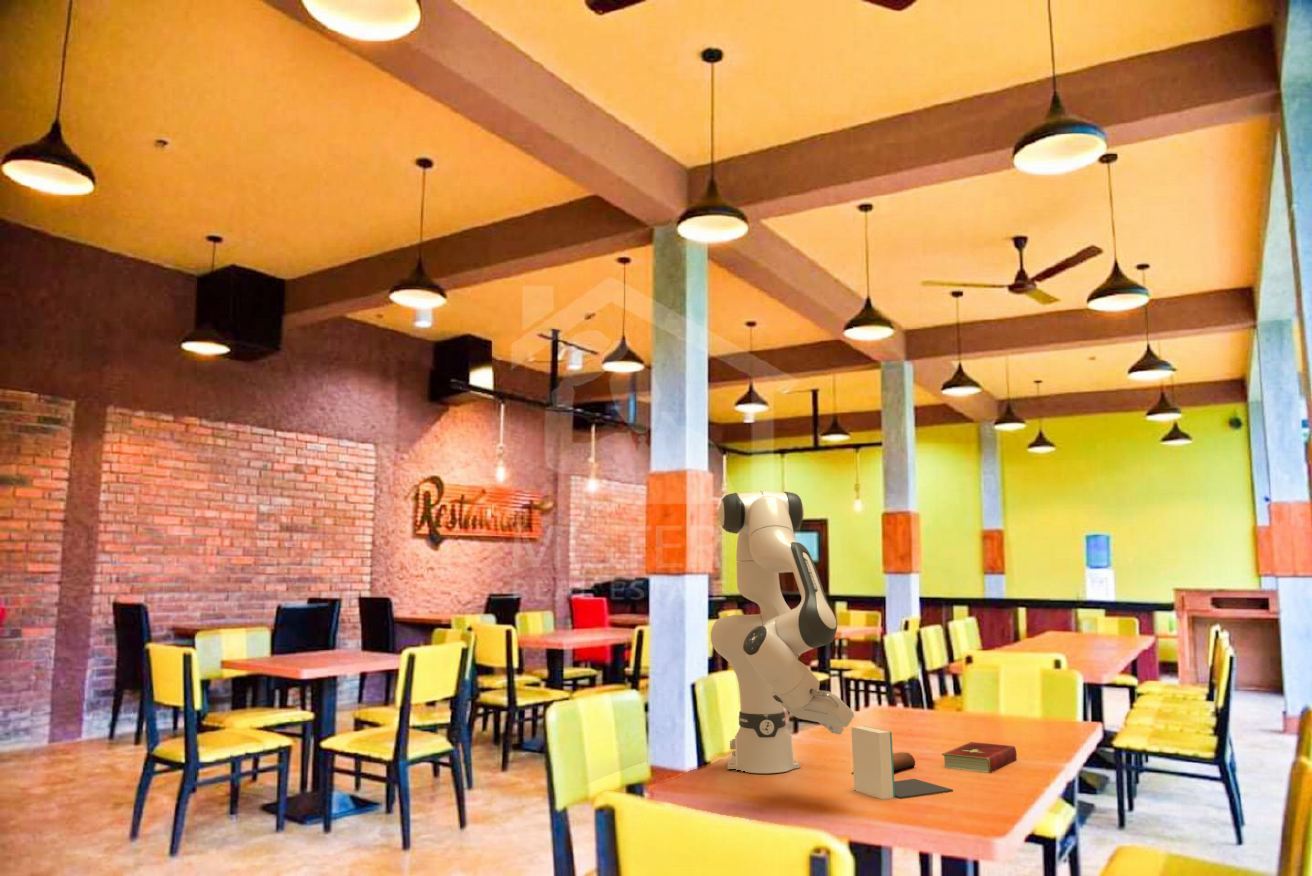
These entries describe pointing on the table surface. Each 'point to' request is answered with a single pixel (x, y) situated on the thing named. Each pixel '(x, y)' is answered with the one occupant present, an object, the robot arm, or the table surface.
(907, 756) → the sweet potato
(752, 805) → the table surface
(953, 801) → the table surface
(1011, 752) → the hardcover book
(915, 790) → the mat
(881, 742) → the cream rectangular block
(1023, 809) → the table surface
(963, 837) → the table surface
